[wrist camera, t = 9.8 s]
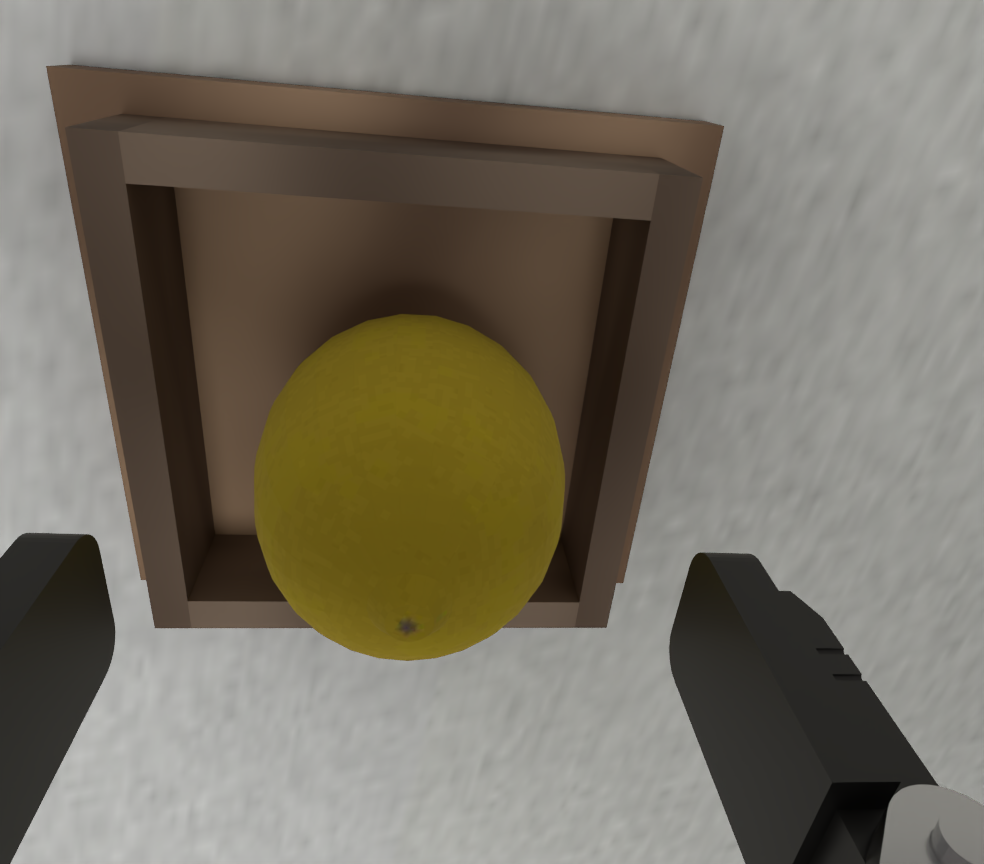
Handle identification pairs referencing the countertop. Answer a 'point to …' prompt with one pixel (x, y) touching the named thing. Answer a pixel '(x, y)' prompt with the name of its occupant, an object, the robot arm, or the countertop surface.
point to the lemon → (409, 488)
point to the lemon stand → (368, 293)
